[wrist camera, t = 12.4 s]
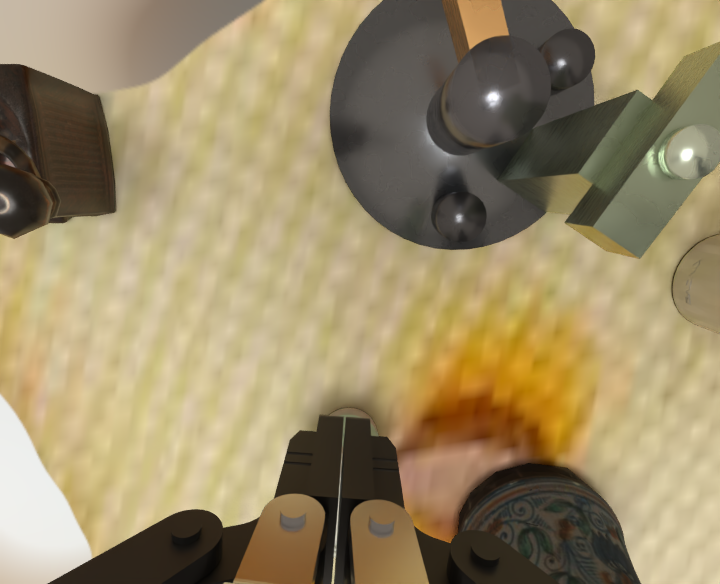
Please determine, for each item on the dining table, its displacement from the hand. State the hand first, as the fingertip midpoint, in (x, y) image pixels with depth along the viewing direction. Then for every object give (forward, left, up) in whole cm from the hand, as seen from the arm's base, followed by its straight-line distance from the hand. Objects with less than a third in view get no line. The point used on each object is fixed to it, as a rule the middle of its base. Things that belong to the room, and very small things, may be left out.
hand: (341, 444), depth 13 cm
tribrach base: (-8, -14, -29) cm, 33 cm away
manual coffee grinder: (+25, -8, -29) cm, 39 cm away
